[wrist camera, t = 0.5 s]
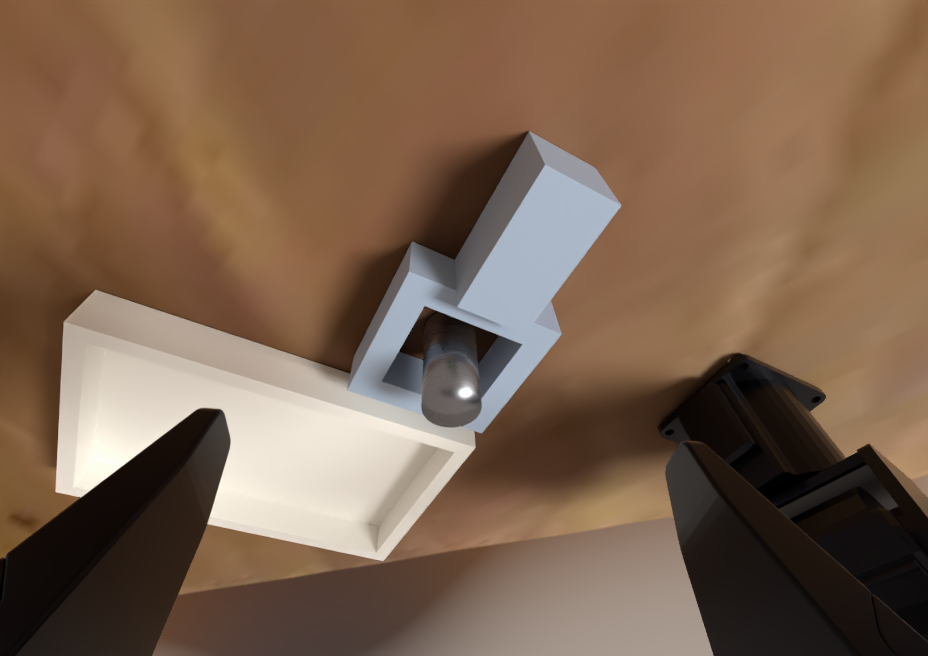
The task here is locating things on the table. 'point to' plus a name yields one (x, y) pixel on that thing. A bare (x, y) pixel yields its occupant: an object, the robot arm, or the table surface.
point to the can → (450, 372)
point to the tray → (249, 428)
